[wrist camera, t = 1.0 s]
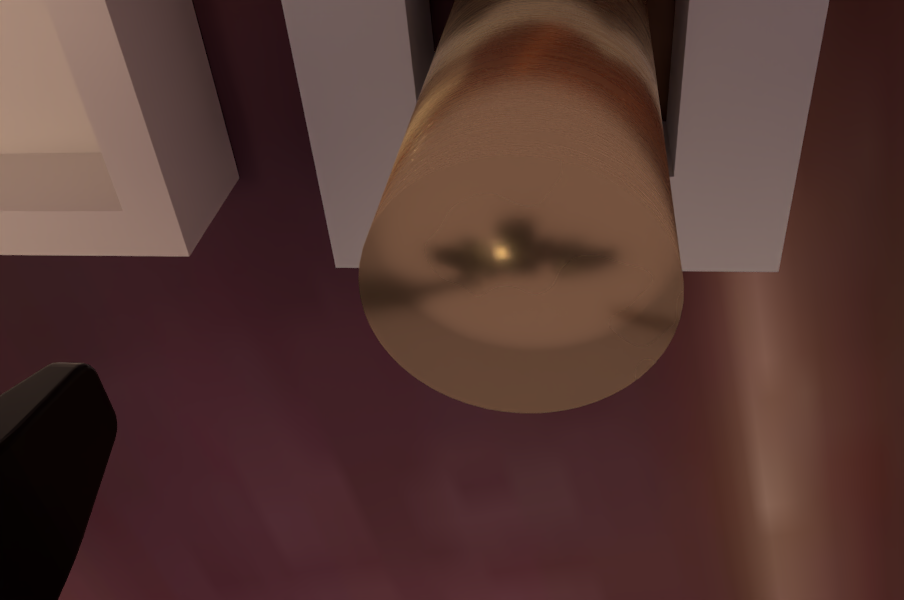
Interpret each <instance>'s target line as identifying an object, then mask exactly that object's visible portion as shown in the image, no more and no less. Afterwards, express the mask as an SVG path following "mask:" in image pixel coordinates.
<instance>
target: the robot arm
mask: <svg viewBox="0 0 904 600" xmlns="http://www.w3.org/2000/svg"><path fill="white" fill-rule="evenodd" d="M116 432H117V419H116V414H115V411H114V409H113V407H112V405H111V403H110V400H109V398H108V396H107V394H106V392H105V389H104V387H103V385H102V383H101V381H100V378H99V376H98V374H97V372H96V371H95V369H94V368H93V367H91V366H90V365H89V364H85V363H67V362H57V363H52V364H49V365H48V366H46V367H44V368H43V369H41V370H39V371H38V372H36V373H35V374H33V375H32V376H30V377H28V378H27V379H25V380H24V381H22V382H20V383H19V384H17V385H16V386H14V387H13V388H11V389H9V390H8V391H6V392H5V393H3V394H2V395H0V600H58V598H59V596H60V594H61V591H62V589H63V587H64V585H65V582H66V580H67V578H68V575H69V573H70V570H71V568H72V566H73V563H74V561H75V558H76V556H77V553H78V550H79V547H80V545H81V542H82V539H83V536H84V533H85V530H86V527H87V524H88V521H89V518H90V515H91V512H92V508H93V505H94V502H95V499H96V496H97V493H98V490H99V487H100V484H101V481H102V478H103V475H104V472H105V468H106V465H107V462H108V459H109V456H110V453H111V450H112V447H113V444H114V441H115V437H116Z"/></svg>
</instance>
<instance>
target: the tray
mask: <svg viewBox="0 0 904 600" xmlns="http://www.w3.org/2000/svg"><path fill="white" fill-rule="evenodd" d="M238 179H239V174H238V171H237V167H236V163H235V159H234V156H233V152H232V148H231V144H230V141H229V137H228V133H227V130H226V126H225V122H224V118H223V115H222V111H221V107H220V103H219V100H218V96H217V92H216V88H215V85H214V81H213V77H212V74H211V70H210V66H209V62H208V59H207V55H206V51H205V47H204V44H203V40H202V36H201V33H200V29H199V25H198V21H197V18H196V14H195V10H194V6H193V3H192V0H0V255H75V256H190V255H191V253H192V252H193V250H194V248H195V247H196V245H197V244H198V242H199V241H200V239H201V237H202V236H203V234H204V233H205V231H206V230H207V228H208V226H209V225H210V223H211V222H212V220H213V219H214V217H215V215H216V214H217V212H218V211H219V209H220V208H221V206H222V205H223V203H224V201H225V200H226V198H227V197H228V195H229V194H230V192H231V190H232V189H233V187H234V186H235V184H236V183H237V181H238Z"/></svg>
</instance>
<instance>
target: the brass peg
mask: <svg viewBox="0 0 904 600" xmlns="http://www.w3.org/2000/svg"><path fill="white" fill-rule="evenodd" d="M359 290H360V298H361V301H362V305H363V309H364V313H365V315H366V317H367V320H368V322H369V324H370V326H371V329H372V330H373V332H374V334H375V335H376V337H377V338H378V340H379V342H380V343H381V344H382V346H383V347H384V348H385V349H386V351H387V352H388V353H389V354H390V356H391V357H392V358H393V359H394V360H395V361H396V362H397V363H398V364H399V365H400V366H401V367H402V368H404V369H405V370H406V371H407V372H409V373H410V374H411V375H413V376H414V377H415V378H416V379H418V380H419V381H421V382H423V383H424V384H426V385H427V386H429V387H431V388H432V389H434V390H436V391H438V392H440V393H442V394H444V395H446V396H448V397H451V398H453V399H456V400H459V401H461V402H464V403H467V404H470V405H474V406H478V407H481V408H485V409H491V410H497V411H502V412H513V413H547V412H556V411H563V410H568V409H573V408H578V407H581V406H584V405H588V404H591V403H594V402H597V401H599V400H602V399H604V398H606V397H609V396H611V395H613V394H615V393H617V392H618V391H620V390H622V389H624V388H625V387H627V386H629V385H630V384H632V383H633V382H634V381H636V380H637V379H638V378H640V377H641V376H642V375H643V374H644V373H645V372H647V371H648V370H649V369H650V368H651V367H652V366H653V365H654V364H655V363H656V361H657V360H658V359H659V358H660V356H661V355H662V354H663V353H664V351H665V350H666V348H667V347H668V345H669V343H670V341H671V340H672V338H673V336H674V334H675V331H676V329H677V326H678V323H679V321H680V317H681V312H682V307H683V300H684V282H683V275H682V267H681V260H680V252H679V245H678V237H677V230H676V222H675V215H674V207H673V200H672V192H671V185H670V177H669V170H668V162H667V154H666V147H665V139H664V132H663V124H662V117H661V109H660V102H659V94H658V87H657V79H656V72H655V64H654V57H653V49H652V42H651V34H650V27H649V19H648V12H647V4H646V0H455V1H454V3H453V6H452V9H451V12H450V14H449V17H448V20H447V22H446V25H445V28H444V30H443V33H442V36H441V39H440V41H439V44H438V47H437V49H436V52H435V55H434V57H433V60H432V63H431V66H430V68H429V71H428V74H427V76H426V79H425V82H424V84H423V87H422V90H421V93H420V95H419V98H418V101H417V103H416V106H415V109H414V111H413V114H412V117H411V120H410V122H409V125H408V128H407V130H406V133H405V136H404V138H403V141H402V144H401V146H400V149H399V152H398V155H397V157H396V160H395V163H394V165H393V168H392V171H391V173H390V176H389V179H388V182H387V184H386V187H385V190H384V192H383V195H382V198H381V200H380V203H379V206H378V209H377V211H376V214H375V217H374V219H373V222H372V225H371V227H370V230H369V233H368V236H367V238H366V241H365V244H364V246H363V250H362V255H361V259H360V264H359Z"/></svg>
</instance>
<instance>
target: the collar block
mask: <svg viewBox="0 0 904 600" xmlns="http://www.w3.org/2000/svg"><path fill="white" fill-rule="evenodd" d="M281 2H282V7H283V11H284V16H285V21H286V26H287V31H288V36H289V41H290V46H291V51H292V56H293V60H294V65H295V70H296V75H297V80H298V85H299V90H300V95H301V100H302V105H303V109H304V114H305V119H306V124H307V129H308V134H309V139H310V144H311V149H312V153H313V158H314V163H315V168H316V173H317V178H318V183H319V188H320V193H321V198H322V202H323V207H324V212H325V217H326V222H327V227H328V232H329V237H330V242H331V247H332V251H333V256H334V261H335V266H336V268H359V264H360V259H361V255H362V250H363V246H364V244H365V241H366V238H367V236H368V233H369V230H370V227H371V225H372V222H373V219H374V217H375V214H376V211H377V209H378V206H379V203H380V200H381V198H382V195H383V192H384V190H385V187H386V184H387V182H388V179H389V176H390V173H391V171H392V168H393V165H394V163H395V160H396V157H397V155H398V152H399V149H400V146H401V144H402V141H403V138H404V136H405V133H406V130H407V128H408V125H409V122H410V120H411V117H412V114H413V111H414V109H415V106H416V103H417V101H418V98H419V95H420V93H421V90H422V87H423V84H424V82H425V79H426V76H427V74H428V71H429V68H430V66H431V63H432V60H433V57H434V55H435V53H434V43H433V33H432V23H431V13H430V3H429V0H281ZM828 5H829V0H675V13H674V26H673V39H672V52H671V65H670V78H669V91H668V103H667V116H666V121H662V124H663V132H664V139H665V147H666V154H667V162H668V170H669V177H670V185H671V192H672V200H673V207H674V215H675V222H676V230H677V237H678V245H679V252H680V260H681V267H682V271H721V272H779V266H780V261H781V256H782V250H783V245H784V240H785V234H786V229H787V224H788V218H789V213H790V208H791V202H792V197H793V192H794V186H795V181H796V176H797V170H798V165H799V160H800V154H801V149H802V144H803V138H804V133H805V128H806V122H807V117H808V112H809V106H810V101H811V96H812V90H813V85H814V80H815V74H816V69H817V64H818V58H819V53H820V48H821V42H822V37H823V32H824V26H825V21H826V16H827V10H828Z"/></svg>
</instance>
